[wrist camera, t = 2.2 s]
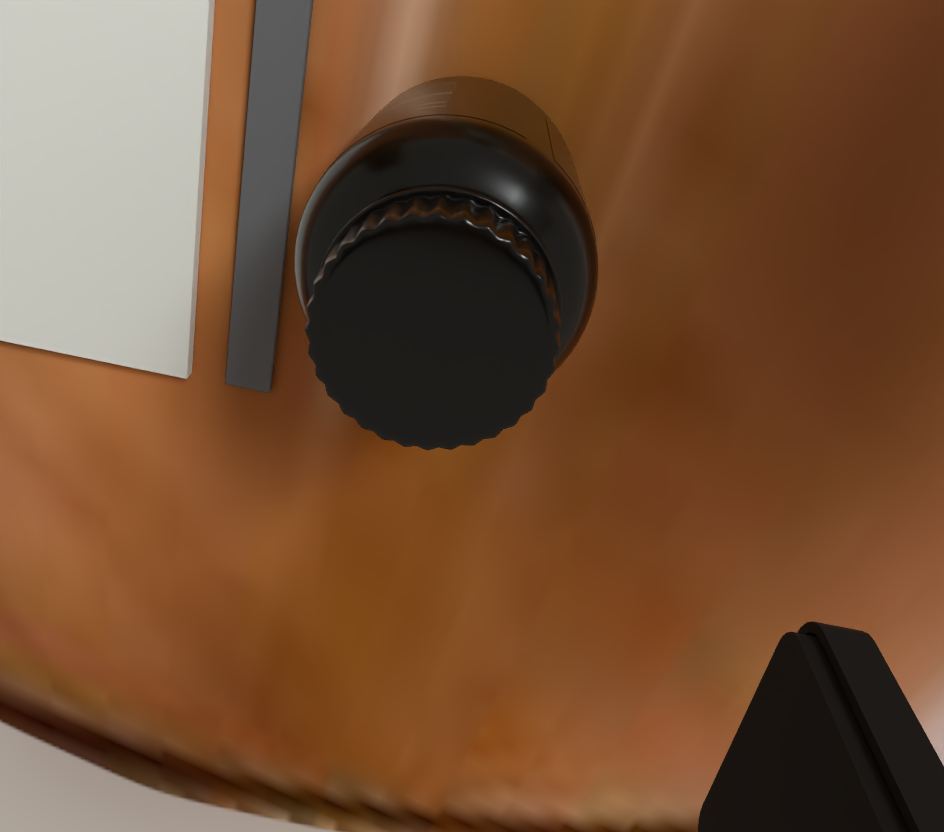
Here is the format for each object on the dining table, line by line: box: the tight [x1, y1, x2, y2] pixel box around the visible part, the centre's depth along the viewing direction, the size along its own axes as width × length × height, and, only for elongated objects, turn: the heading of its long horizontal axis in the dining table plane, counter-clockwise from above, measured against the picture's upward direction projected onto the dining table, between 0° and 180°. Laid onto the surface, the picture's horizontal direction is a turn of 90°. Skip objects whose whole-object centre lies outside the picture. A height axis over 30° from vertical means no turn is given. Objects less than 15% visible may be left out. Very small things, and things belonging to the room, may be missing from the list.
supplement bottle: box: [294, 76, 598, 450], centre depth 21 cm, size 7×7×12 cm
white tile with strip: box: [0, 0, 313, 393], centre depth 26 cm, size 13×16×1 cm
